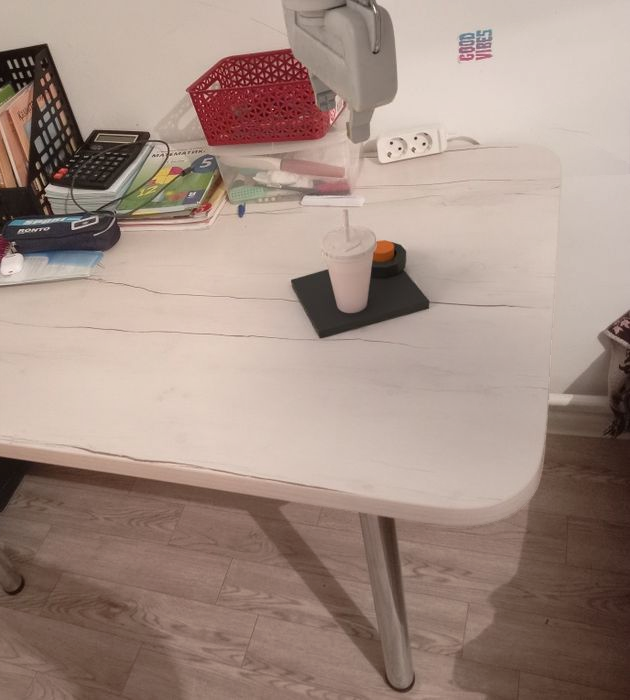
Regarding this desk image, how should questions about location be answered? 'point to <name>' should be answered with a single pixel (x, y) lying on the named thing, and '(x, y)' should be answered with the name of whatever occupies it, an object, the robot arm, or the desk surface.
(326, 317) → the scale
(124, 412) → the desk surface
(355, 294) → the smoothie
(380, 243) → the button
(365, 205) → the desk surface
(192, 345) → the desk surface
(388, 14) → the robot arm
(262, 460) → the desk surface
